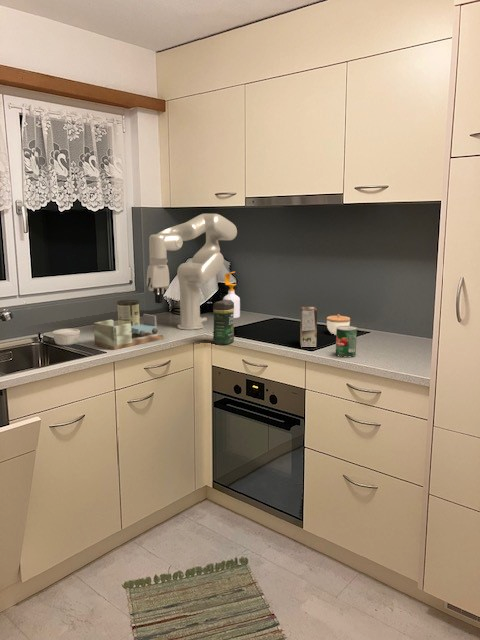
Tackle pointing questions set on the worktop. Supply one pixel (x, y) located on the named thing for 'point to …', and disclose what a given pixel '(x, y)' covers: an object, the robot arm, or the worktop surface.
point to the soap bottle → (232, 296)
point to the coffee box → (308, 326)
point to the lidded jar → (337, 322)
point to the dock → (119, 335)
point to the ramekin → (66, 336)
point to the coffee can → (128, 312)
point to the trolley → (146, 325)
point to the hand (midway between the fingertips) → (158, 302)
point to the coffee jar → (223, 322)
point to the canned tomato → (346, 340)
